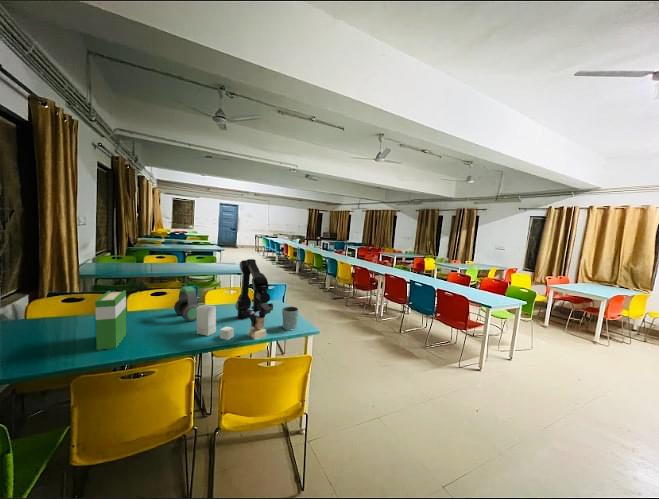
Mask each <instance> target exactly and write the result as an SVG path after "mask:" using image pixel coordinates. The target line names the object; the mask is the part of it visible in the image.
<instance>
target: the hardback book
mask: <svg viewBox="0 0 659 499" xmlns="http://www.w3.org/2000/svg"><path fill="white" fill-rule="evenodd" d="M126 292H127V290H126V289H125V290H122V291H115V292H113V291H112V292H111V290H108V291H106V292H105V293H104V294H102V295H101V296H100V297H99V298H97V299H96V300H95V301H94V302H95V304H94V305H95V340H96V341H95V343H96V351H97V350H98V351H103V350H102V349H107V350H115V349H114V348H116V349H117V348H118V347H119V345H120V344H121V342H122V341H123V339H124V338H123V337H125V336H126V335H127V334H126V333H127V293H126ZM121 340H122V341H121ZM119 343H120V344H119ZM117 346H118V347H117Z"/></svg>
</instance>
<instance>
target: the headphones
mask: <svg viewBox="0 0 659 499" xmlns="http://www.w3.org/2000/svg"><path fill="white" fill-rule="evenodd" d="M197 298H198V296H197V293H196V290H195V288H194V286H183V287H181V288H180V289H179V293H178V300H176V302H175V303H174V304H173V305H174V306H173V309H174V312H175V313H176V314H177V315H179V316H181V317H182V318H183V319H184V320H185V321H188V322H194V321H197V311H196V307H199V306H200V305H199V304H198V299H197Z"/></svg>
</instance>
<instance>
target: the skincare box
mask: <svg viewBox="0 0 659 499" xmlns="http://www.w3.org/2000/svg"><path fill="white" fill-rule="evenodd" d="M216 308H217V307H216V305H211V304H202V305H199V307H196V311H197V319H196V334H197V335H202V336H207V337H209V336H211V335H213V334H216V333H217V315H216V314H217V311H216V310H217V309H216Z"/></svg>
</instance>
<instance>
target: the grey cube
mask: <svg viewBox="0 0 659 499" xmlns="http://www.w3.org/2000/svg"><path fill="white" fill-rule="evenodd" d="M219 330H220V331H219V338H220V339H221V340H226V341H228V340H230V339H232V338H233V337H234V335H235V334H234V333H235V329H234V327H232V326H224V327H222V328H221V329H219Z"/></svg>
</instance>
